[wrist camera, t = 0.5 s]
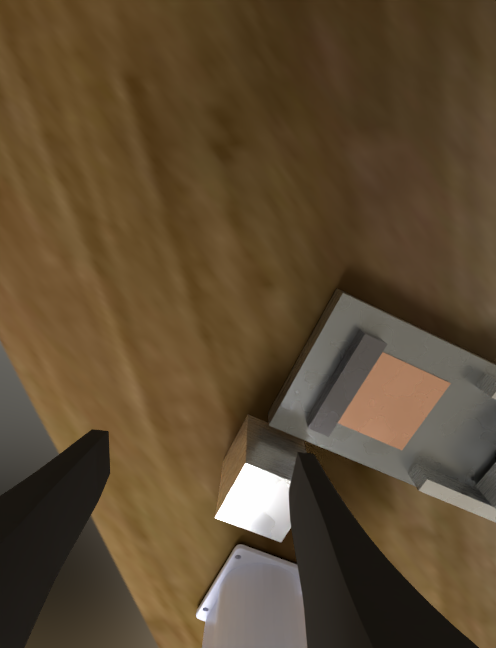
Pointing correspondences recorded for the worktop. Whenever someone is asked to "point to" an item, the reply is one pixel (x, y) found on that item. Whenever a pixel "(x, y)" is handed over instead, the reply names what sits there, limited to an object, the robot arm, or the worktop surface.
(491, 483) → the block
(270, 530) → the white rectangular block
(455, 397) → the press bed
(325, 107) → the worktop surface
